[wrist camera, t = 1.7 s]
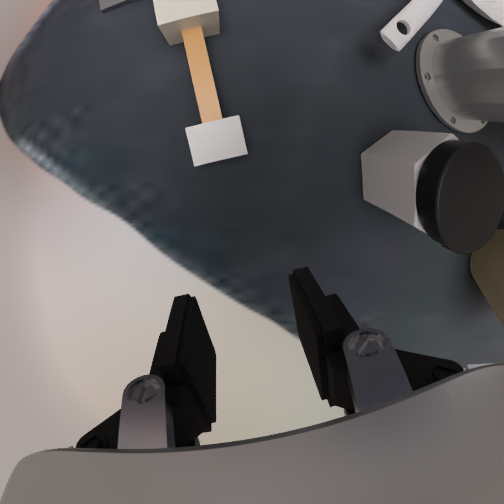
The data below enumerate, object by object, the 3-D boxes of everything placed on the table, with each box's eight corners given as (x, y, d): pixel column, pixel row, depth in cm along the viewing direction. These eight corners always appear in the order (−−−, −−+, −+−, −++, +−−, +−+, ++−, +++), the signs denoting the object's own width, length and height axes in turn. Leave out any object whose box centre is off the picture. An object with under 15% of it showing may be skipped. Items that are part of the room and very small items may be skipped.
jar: (380, 230, 29) (451, 280, 18) (341, 165, 27) (414, 187, 15) (437, 182, 28) (516, 211, 17) (405, 118, 25) (490, 120, 14)
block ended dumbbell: (209, -8, 19) (206, -36, 14) (246, 150, 25) (252, 153, 20) (161, 4, 19) (149, -21, 14) (196, 162, 25) (189, 168, 20)
